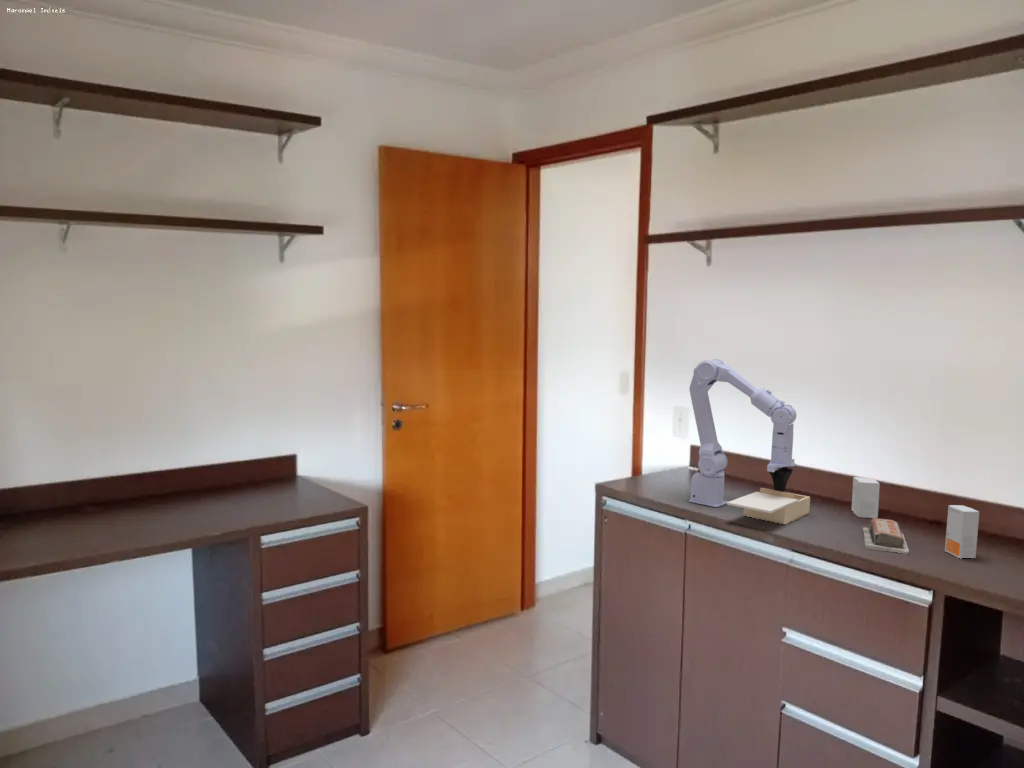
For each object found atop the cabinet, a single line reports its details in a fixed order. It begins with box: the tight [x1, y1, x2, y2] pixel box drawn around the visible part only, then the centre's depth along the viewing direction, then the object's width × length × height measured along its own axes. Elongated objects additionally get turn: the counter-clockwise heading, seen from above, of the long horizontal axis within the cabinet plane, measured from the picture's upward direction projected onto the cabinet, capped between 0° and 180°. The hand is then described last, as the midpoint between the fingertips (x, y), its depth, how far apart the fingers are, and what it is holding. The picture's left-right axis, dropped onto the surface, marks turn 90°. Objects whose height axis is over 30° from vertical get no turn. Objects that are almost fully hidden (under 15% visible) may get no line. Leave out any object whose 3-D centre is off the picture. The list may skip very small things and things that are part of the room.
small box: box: [851, 476, 881, 519], centre depth 226 cm, size 8×6×10 cm
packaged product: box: [862, 517, 910, 555], centre depth 199 cm, size 18×5×10 cm
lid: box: [726, 487, 798, 513], centre depth 216 cm, size 13×19×2 cm, turn 138°
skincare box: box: [944, 504, 980, 560], centre depth 189 cm, size 6×4×12 cm
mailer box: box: [743, 493, 811, 525], centre depth 224 cm, size 12×18×5 cm, turn 138°
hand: (779, 492), depth 224 cm, fingers closed
